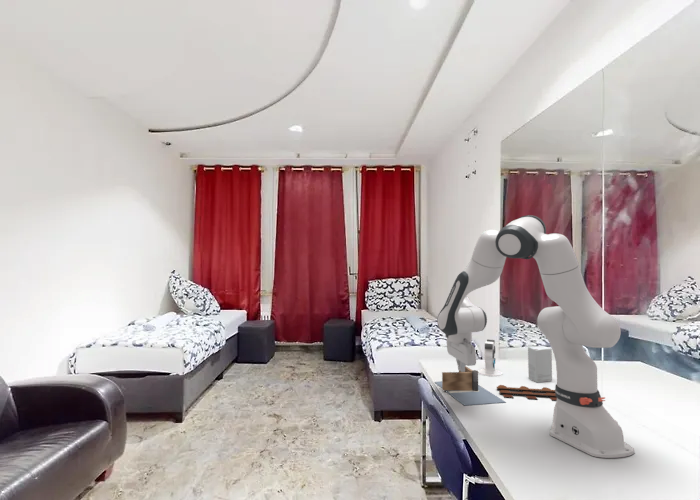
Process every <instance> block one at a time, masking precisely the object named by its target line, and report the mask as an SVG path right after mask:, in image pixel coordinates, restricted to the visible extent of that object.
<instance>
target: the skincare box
mask: <svg viewBox="0 0 700 500" xmlns="http://www.w3.org/2000/svg"><path fill="white" fill-rule="evenodd" d="M552 352H553V350H552V347H551V348H550V347H548V346H545V345H538V346H537V345H536V346H530V347H529V346H528V347H527V360H528V361H527V362H528V364H527V365H528V366H527V368H528V371H527V372H528V379H529V380H530V381H532V382H534V383H546V382H552V381H553V364H552V363H553V362H552V360H553V359H552V358H553V356H552Z"/></svg>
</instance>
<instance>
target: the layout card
mask: <svg viewBox="0 0 700 500" xmlns="http://www.w3.org/2000/svg"><path fill="white" fill-rule="evenodd" d="M434 384H435V385H437V386H438V387H439V388H441V389H442V380H441V381H434ZM444 391H445V392H446V393H447V394H448V395H449V396H451V397H452V398H454V399H455V400H456V401H458V402H459V403H460V404H461V405H463V406H464V407H465V406H467V407H468V406H479V405H481V406H482V405H492V404H506V403H507V402H506V401H505V400H504V399H502V398H500V397H499V396H497V395H495V394H494V393H492V392H491V391H489V390H487V389H485V388H484V387H482V386H481V385H480V384H478V391H473V390H444Z"/></svg>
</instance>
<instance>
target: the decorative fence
mask: <svg viewBox="0 0 700 500" xmlns="http://www.w3.org/2000/svg"><path fill="white" fill-rule="evenodd" d="M496 390H497V391H498V392H499V395H502V397H503V398H504V399H514V396H520V397H524V396H525V397H526V399H527V400H531V401H532V400H533V401H538V400H539V399H538V398H537V397H539V398H549V399H550V400H551V401H552V402H556V400H557V397H556V396H555V389H551V388H549V387H546V386H545V387H544V386H543V387H542V388H530V387H527V386H525V385H524V386H523V385H521V386H520V387H509V386H507V385H504V384H499V385H497V386H496Z"/></svg>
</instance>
